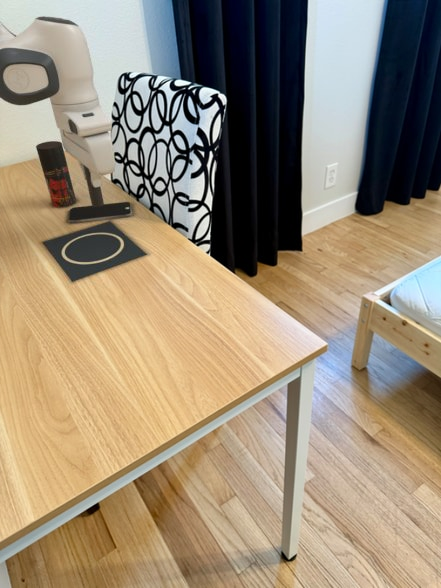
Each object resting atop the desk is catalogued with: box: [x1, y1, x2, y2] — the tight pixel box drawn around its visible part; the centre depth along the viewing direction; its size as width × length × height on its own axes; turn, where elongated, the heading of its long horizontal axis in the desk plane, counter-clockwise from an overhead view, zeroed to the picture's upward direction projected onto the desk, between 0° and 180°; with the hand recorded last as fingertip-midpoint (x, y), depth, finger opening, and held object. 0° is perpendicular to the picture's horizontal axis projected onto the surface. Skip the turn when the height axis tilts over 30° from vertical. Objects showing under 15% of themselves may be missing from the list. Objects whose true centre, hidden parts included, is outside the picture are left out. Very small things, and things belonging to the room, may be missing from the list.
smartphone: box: [67, 201, 133, 224], centre depth 105 cm, size 8×1×15 cm
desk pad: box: [42, 220, 148, 283], centre depth 92 cm, size 16×19×1 cm
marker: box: [83, 165, 105, 207], centre depth 91 cm, size 3×3×13 cm
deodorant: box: [35, 140, 77, 209], centre depth 107 cm, size 6×6×15 cm
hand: (93, 183), depth 92 cm, fingers closed on marker, 2 cm apart
